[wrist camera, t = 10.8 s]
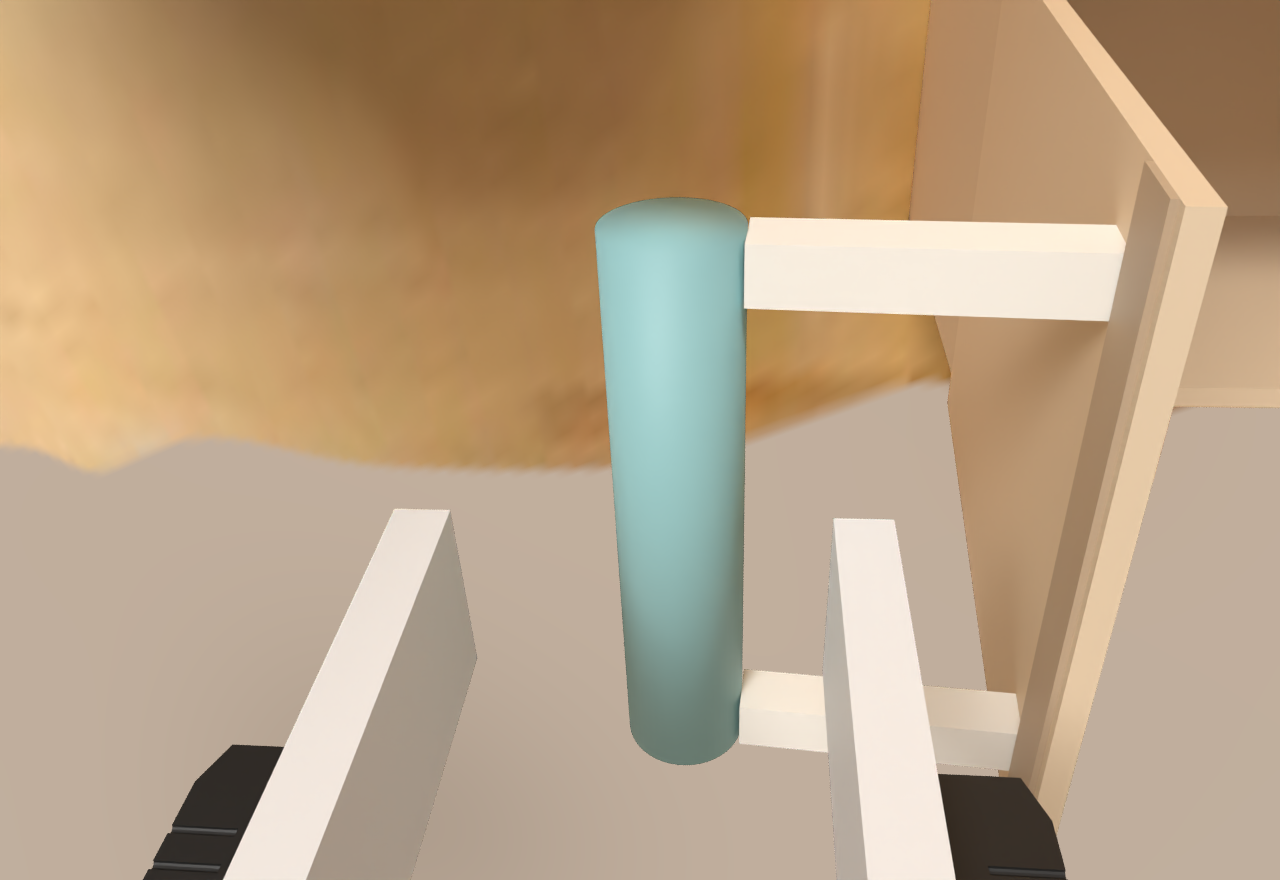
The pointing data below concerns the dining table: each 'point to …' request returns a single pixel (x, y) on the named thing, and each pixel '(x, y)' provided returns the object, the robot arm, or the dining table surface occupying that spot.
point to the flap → (977, 402)
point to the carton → (1196, 118)
